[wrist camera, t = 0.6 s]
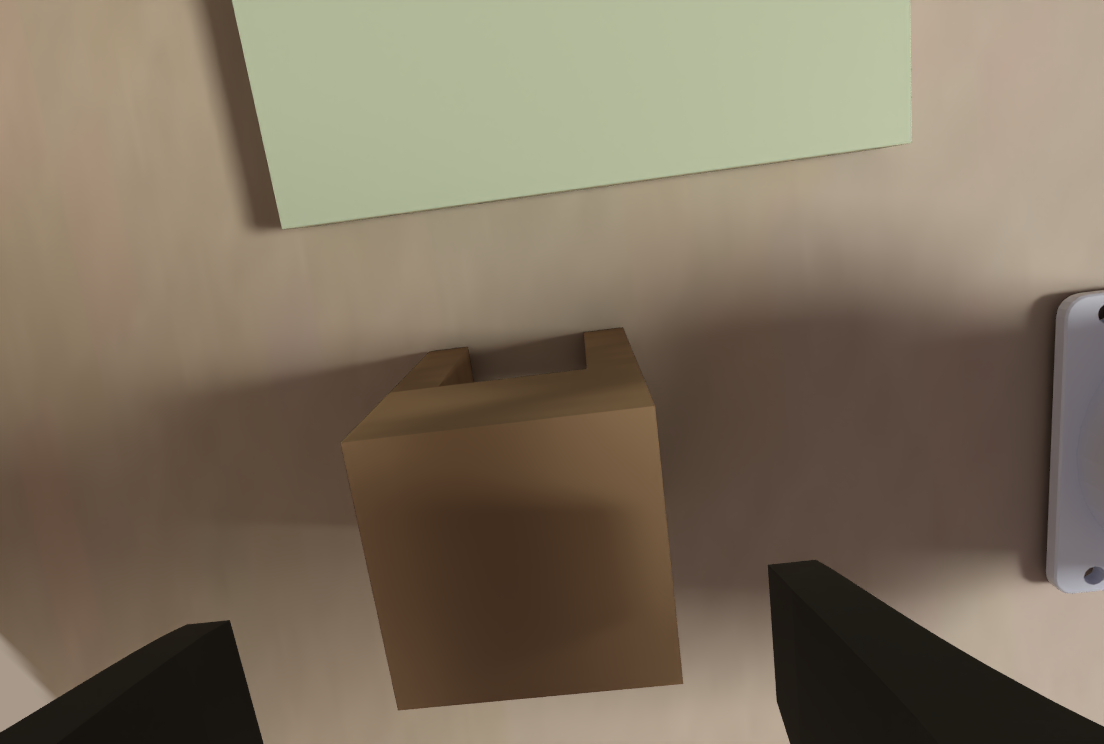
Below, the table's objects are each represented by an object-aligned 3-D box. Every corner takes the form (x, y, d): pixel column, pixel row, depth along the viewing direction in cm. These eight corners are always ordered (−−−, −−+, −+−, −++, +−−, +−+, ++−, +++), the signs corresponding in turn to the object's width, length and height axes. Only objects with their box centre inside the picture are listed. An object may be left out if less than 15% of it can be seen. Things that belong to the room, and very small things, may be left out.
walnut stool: (622, 327, 17) (654, 405, 11) (642, 508, 19) (683, 683, 12) (429, 351, 18) (340, 442, 11) (461, 527, 19) (397, 710, 12)
